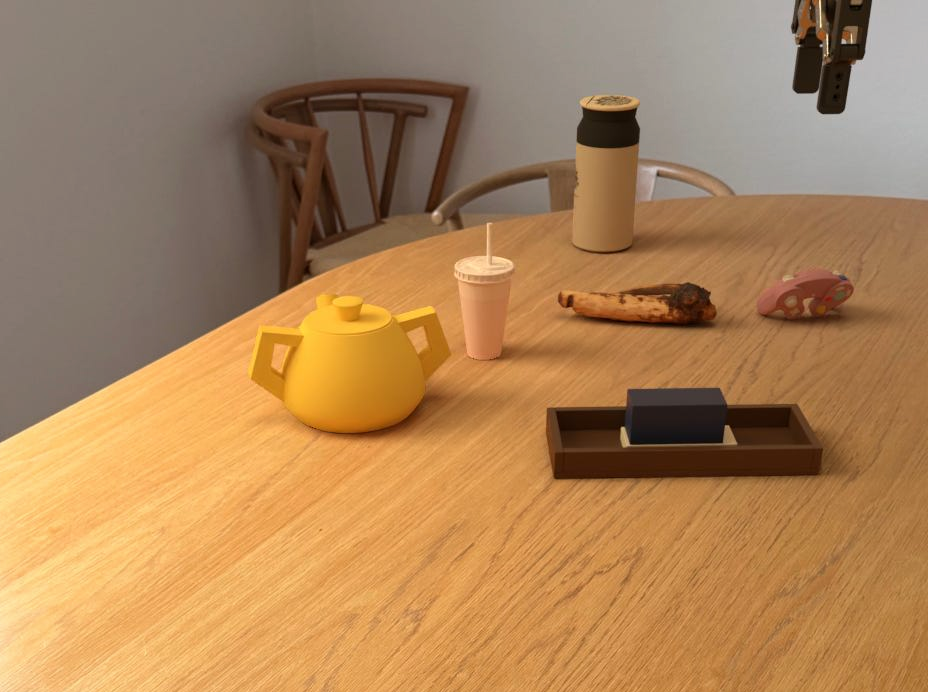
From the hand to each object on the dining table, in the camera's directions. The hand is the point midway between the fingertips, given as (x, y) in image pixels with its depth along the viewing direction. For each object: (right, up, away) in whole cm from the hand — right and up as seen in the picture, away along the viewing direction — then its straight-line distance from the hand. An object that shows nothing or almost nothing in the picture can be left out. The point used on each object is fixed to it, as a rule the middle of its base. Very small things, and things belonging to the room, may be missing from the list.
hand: (816, 102), depth 108 cm
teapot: (-42, -22, +18) cm, 51 cm away
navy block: (-11, -29, +7) cm, 31 cm away
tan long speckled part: (-10, -9, +37) cm, 40 cm away
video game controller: (+9, -9, +37) cm, 39 cm away
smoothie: (-28, -15, +28) cm, 43 cm away
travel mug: (-11, +6, +60) cm, 61 cm away
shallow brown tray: (-11, -29, +8) cm, 32 cm away
